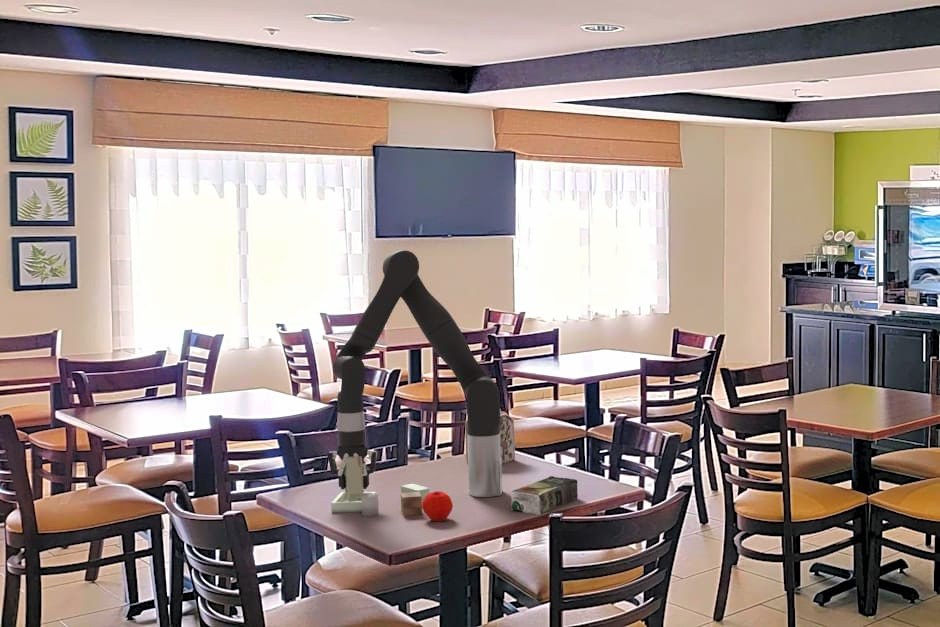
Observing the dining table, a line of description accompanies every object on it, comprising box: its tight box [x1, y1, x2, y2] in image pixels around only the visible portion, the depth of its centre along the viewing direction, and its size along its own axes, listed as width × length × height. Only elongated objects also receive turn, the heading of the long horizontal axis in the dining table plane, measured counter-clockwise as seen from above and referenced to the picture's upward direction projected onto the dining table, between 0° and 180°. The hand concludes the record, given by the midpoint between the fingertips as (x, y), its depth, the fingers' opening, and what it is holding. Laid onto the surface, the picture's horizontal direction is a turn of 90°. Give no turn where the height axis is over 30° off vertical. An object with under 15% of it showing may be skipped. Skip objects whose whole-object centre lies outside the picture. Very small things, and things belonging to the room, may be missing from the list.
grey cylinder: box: [361, 493, 380, 517], centre depth 281 cm, size 4×4×5 cm
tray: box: [330, 491, 377, 513], centre depth 290 cm, size 10×12×2 cm
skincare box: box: [344, 456, 365, 502], centre depth 290 cm, size 6×4×12 cm
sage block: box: [400, 483, 430, 502], centre depth 294 cm, size 8×4×4 cm, turn 38°
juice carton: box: [510, 475, 579, 516], centre depth 285 cm, size 20×10×6 cm, turn 143°
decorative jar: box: [464, 410, 516, 464], centre depth 341 cm, size 12×12×18 cm
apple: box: [422, 490, 454, 522], centre depth 273 cm, size 8×8×7 cm
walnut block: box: [400, 492, 423, 517], centre depth 281 cm, size 5×5×5 cm
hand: (354, 488), depth 290 cm, fingers closed on skincare box, 5 cm apart
